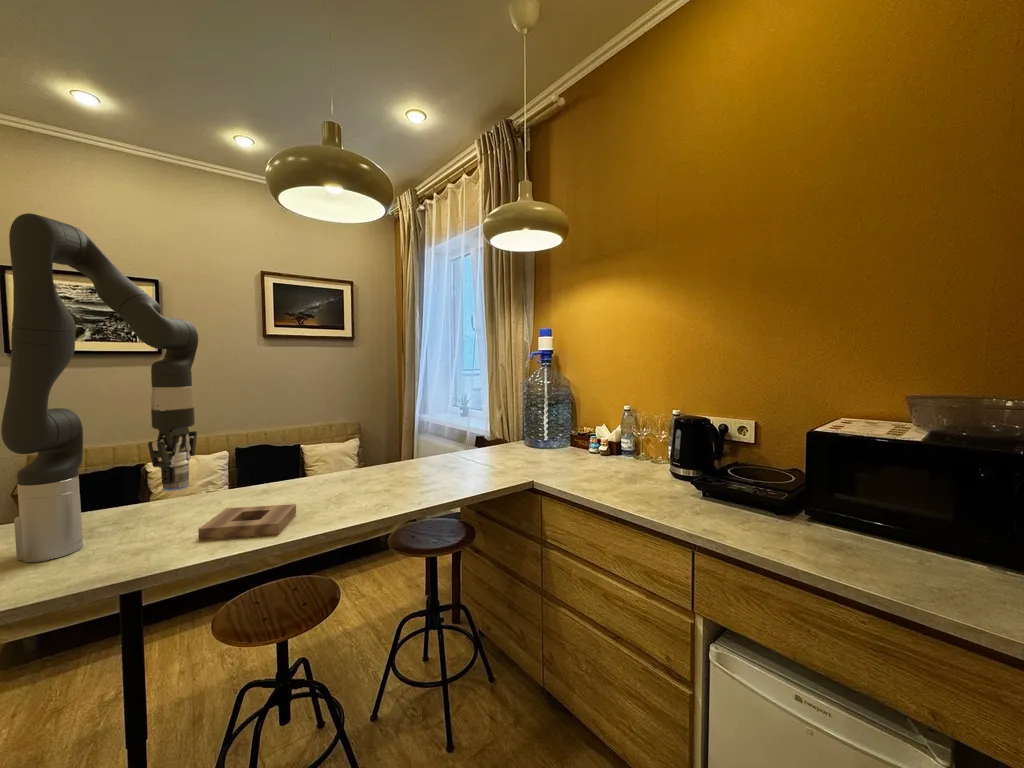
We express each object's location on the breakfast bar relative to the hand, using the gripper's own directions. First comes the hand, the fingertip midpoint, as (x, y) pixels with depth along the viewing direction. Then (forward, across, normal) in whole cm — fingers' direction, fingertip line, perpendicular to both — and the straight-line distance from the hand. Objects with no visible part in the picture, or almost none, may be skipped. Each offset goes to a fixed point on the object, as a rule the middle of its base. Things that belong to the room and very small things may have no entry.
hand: (175, 479), depth 93 cm
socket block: (+17, -13, +10) cm, 24 cm away
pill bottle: (+2, 0, 0) cm, 2 cm away
